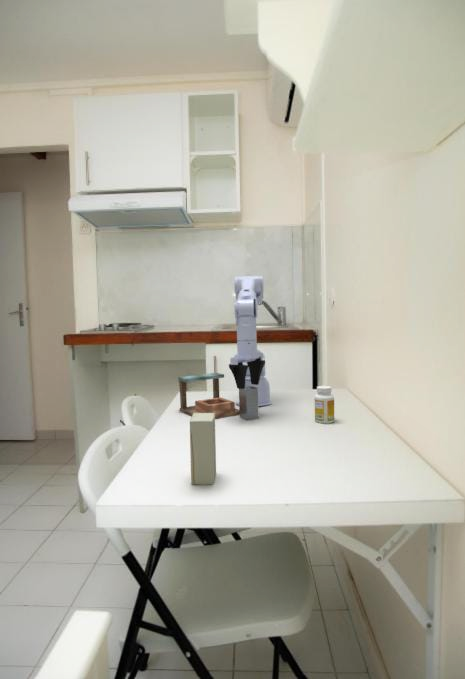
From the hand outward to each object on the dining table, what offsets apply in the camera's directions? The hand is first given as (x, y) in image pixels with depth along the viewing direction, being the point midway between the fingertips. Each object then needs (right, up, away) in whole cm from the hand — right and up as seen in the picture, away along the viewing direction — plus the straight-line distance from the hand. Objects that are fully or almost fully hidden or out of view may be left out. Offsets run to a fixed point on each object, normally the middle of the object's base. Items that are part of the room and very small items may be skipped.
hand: (248, 386), depth 128 cm
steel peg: (0, -9, +1) cm, 9 cm away
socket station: (-11, -9, +9) cm, 17 cm away
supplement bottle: (+21, -9, -6) cm, 24 cm away
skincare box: (-10, -13, -45) cm, 48 cm away
